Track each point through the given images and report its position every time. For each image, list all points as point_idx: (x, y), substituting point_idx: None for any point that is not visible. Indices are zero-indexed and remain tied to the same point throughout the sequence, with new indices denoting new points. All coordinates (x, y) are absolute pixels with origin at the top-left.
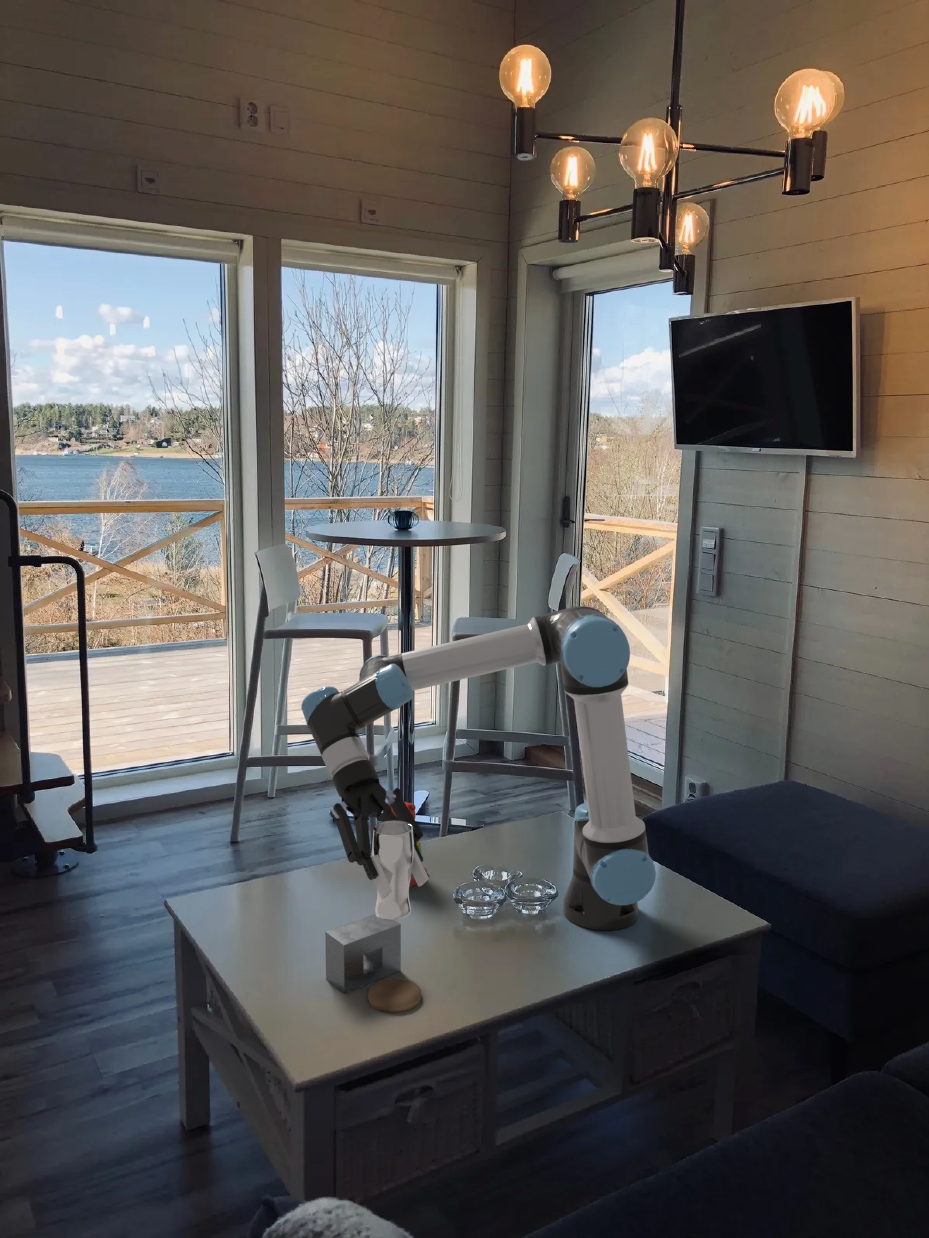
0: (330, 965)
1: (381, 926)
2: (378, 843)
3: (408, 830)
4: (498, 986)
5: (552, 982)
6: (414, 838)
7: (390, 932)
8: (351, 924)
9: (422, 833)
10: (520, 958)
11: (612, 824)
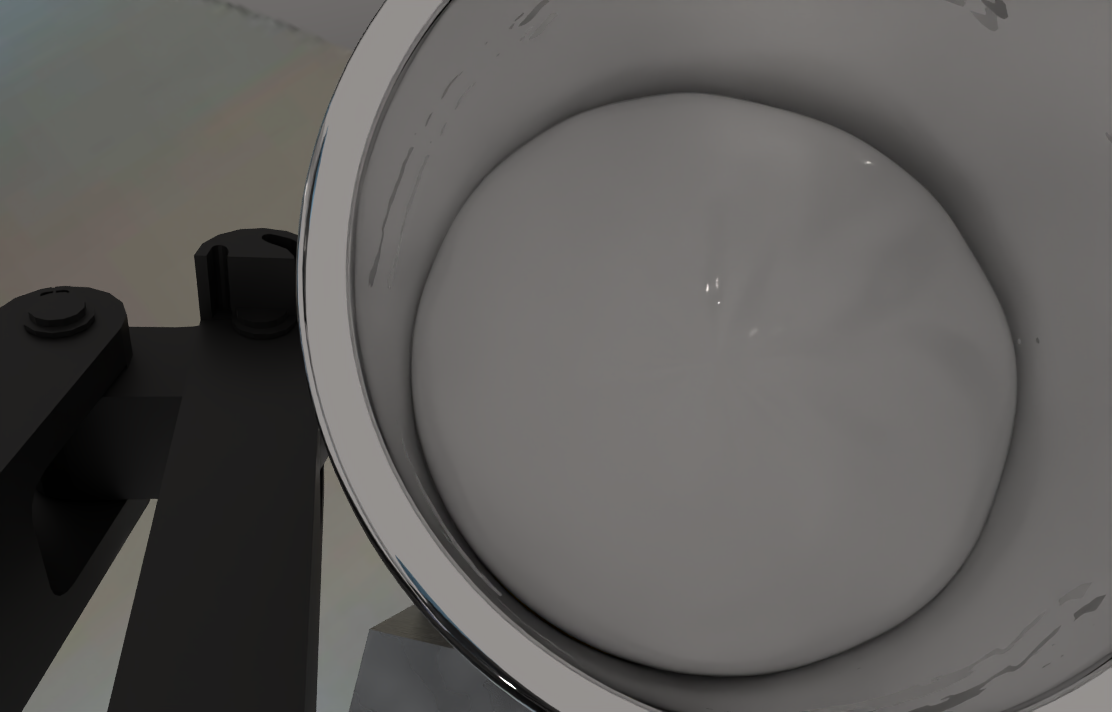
0: None
1: (463, 705)
2: None
3: (373, 215)
4: (269, 191)
5: (117, 46)
6: (218, 324)
7: (448, 642)
8: None
9: (9, 306)
10: (22, 246)
11: None
